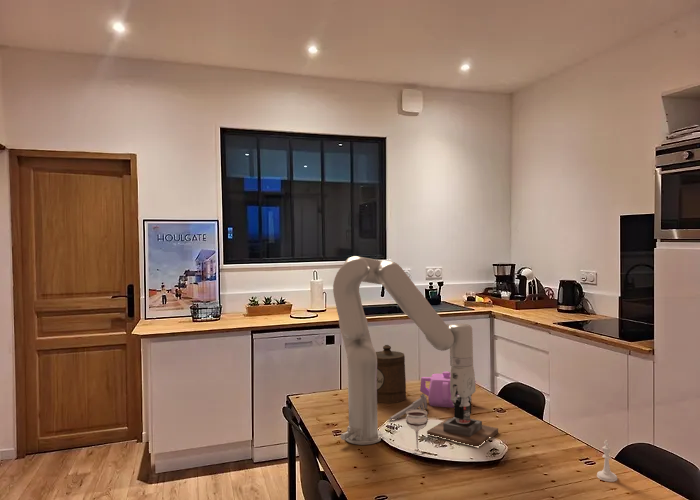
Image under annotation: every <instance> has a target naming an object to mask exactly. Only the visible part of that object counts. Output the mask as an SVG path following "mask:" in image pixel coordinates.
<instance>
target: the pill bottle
mask: <svg viewBox="0 0 700 500" xmlns="http://www.w3.org/2000/svg"><path fill="white" fill-rule="evenodd" d="M458 396H459V395H458ZM459 397H460V396H459ZM457 400H459V402H460V399H458V398H457ZM468 401H469V397H467V398H464V399H463V405H462V406H463V407H464V418H463V419H459V418H456V422H457V423H460V424H468V423H470V419H471V414H470V403H469V402H468Z"/></svg>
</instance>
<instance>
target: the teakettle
mask: <svg viewBox="0 0 700 500" xmlns="http://www.w3.org/2000/svg"><path fill="white" fill-rule="evenodd" d="M450 375H451V371H447V370H446V371H442V372H441V373H433V374H431V376H421V380H420V388H419V389H420V393H421V394H424V395H425V396H426V397H428V403H429V405H430V406H431V407H438V408H439V407H441V408H454V406H453V402H452V401H451V393H450ZM426 382H429V388H428V387H426V384H427V383H426ZM476 383H477V380H475V384H476ZM457 396H458V395H457Z"/></svg>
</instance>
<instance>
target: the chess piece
mask: <svg viewBox="0 0 700 500" xmlns="http://www.w3.org/2000/svg"><path fill="white" fill-rule="evenodd" d="M603 444H605V445H604V446H602V447H601V448H602V451H603V455H602V458H603V459H604V461H603V463H604V464H603V469H601V470H599V471H597V473H596V477H597V478H598V479H600V480H601V481H604V482H611V483H613V482H617V481H618V476H617V474H615V473H614V472H613V471H611V467H610V466H611V465H610V459H612V456H611V455H610V453H611V451H612V449H611V447H610V444H609V440H608V439H605V440H604V441H603Z"/></svg>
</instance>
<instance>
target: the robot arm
mask: <svg viewBox="0 0 700 500" xmlns="http://www.w3.org/2000/svg"><path fill="white" fill-rule="evenodd" d="M362 283H368V284H375V285H382V286H383V288H384V289H385V290H386V292H388V294H389V295H390V297H391V298H392V299H393V300H394V302H395V303H396V305H398V308H400V309H401V311H402V312H403V314H405V315H406V316H407V317H408V318H409V319H410V321H413V323H414V324H415V325H416V326H417V327H418V328H419V329H420V331H421V332H422V333H423V335H424V336H425V337H424V338H425V339H426V341H427V342H428V343H429V344H430V345H431V346H432V347H433V349H436V350H438V351H442V352H443V351H447V350H449V366H450V374H451V375H450V393H451V401H452V402H453V406H454V407H453V417H455V418H459V419H463V418H464V407H463V406H462V405H463V399H464V398H467V397H469V401H468V402H469V403H470V415H471V414H472V396H473V394H474V393H475V392H476V389H477V388H476V383H475V381H476V377H475V376H476V375H475V369H474V349H473V348H474V343H473V338H474V337H473V328H472V326H471V325H470V324H467V323H453V324H448V323H447V324H446V323H445V321H444V320H443V318H442V317H441V315H439V314H438V313H437V311H436V310H435V309H434V308H433V306H432V304H430V302H429V301H428V299H427V298H426V297H425V295H424V294H423V293H422V292H421V291H420V289H419V288H418V287H417V286H416V285H415V283H414V282H413V280H412V279H411V278H410V277H409V275H408V274H407V273H406V271H405V270H404V268H402V267H401V265H400V264H398V263H397V262H394V261H389V260H381V259H374V258H369V257H363V256H357V255H353V256H351V257H348V258H347V259H346V260H345V261H344V262H343V265H341V267H340V268H339V269H338V271H337V272H336V275H335V277H334V280H333V285H332V290H333V291H332V293H333V299H334V303H335V307H336V313H337V317H338V325H339V329H340V333H341V338H342V341H343V344H344V349H345V352H346V353H345V354H346V359H347V394H348V395H347V397H348V399H347V401H348V402H347V403H348V426H347V427H346V428H347V429H346V431H345V432H343V433H341V434H340V439H341V440H342V441H346V442H348V443H350V444H353V445H359V446H367V445H373V444H376V443H379V442H380V441H382V440H381V437H382V436H383V433H382V431H381V430H378V429H379V428H378V425H379V423H378V422H379V421H378V402H377V355H376V352H377V351H376V350H375V347H374V345H373V341H372V338H371V336H370V331H369V326H368V324H369V323H368V319H367V317H366V314H365V311H364V307H363V303H362V298H361V294H360V287H361V284H362ZM457 395H459V396H460V397H459V396H457ZM457 398H458V399H460V402H459V400H457ZM382 438H383V437H382Z"/></svg>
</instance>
